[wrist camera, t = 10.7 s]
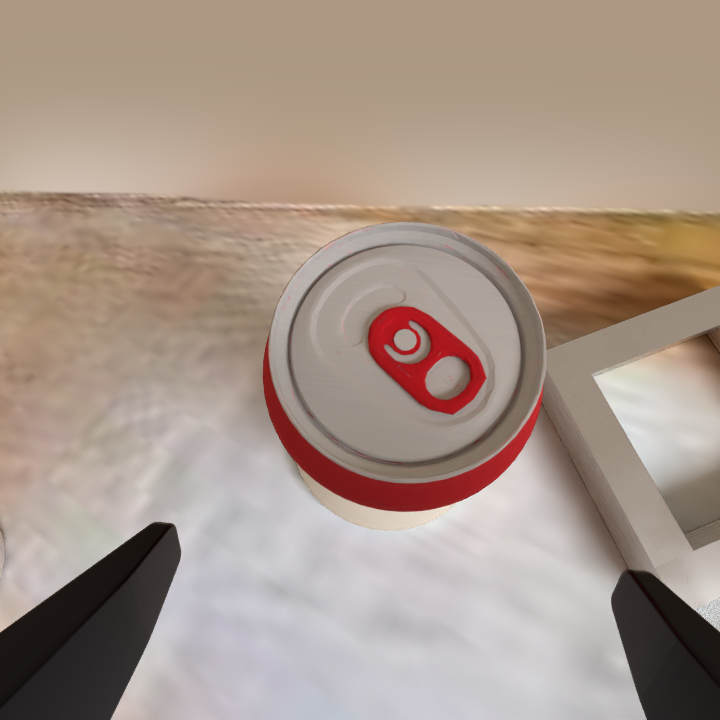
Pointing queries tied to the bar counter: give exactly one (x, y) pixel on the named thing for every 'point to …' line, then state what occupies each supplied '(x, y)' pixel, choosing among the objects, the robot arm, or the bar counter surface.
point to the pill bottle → (1, 553)
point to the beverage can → (405, 366)
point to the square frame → (617, 455)
